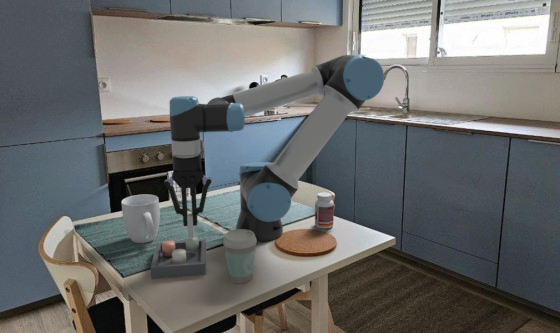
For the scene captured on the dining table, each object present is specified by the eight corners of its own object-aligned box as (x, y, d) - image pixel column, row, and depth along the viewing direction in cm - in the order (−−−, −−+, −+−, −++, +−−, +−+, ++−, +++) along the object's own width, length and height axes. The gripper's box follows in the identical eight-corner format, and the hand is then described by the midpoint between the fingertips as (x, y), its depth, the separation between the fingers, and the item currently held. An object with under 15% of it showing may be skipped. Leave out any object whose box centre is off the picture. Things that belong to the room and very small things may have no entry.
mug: (171, 245, 135) (168, 204, 132) (134, 254, 129) (130, 211, 126) (155, 229, 147) (152, 192, 144) (121, 237, 141) (117, 198, 138)
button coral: (176, 250, 128) (175, 240, 127) (175, 255, 125) (174, 245, 124) (163, 251, 128) (162, 241, 127) (161, 256, 124) (161, 246, 123)
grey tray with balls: (206, 248, 133) (205, 239, 132) (206, 274, 117) (205, 263, 117) (157, 252, 131) (157, 242, 130) (151, 278, 115) (150, 268, 115)
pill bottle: (337, 225, 149) (337, 194, 147) (325, 230, 145) (325, 198, 143) (322, 220, 154) (323, 190, 151) (311, 225, 150) (311, 194, 147)
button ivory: (186, 259, 123) (186, 248, 122) (186, 265, 119) (185, 254, 118) (173, 260, 122) (172, 249, 121) (172, 266, 119) (171, 255, 118)
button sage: (199, 246, 129) (198, 235, 128) (198, 251, 125) (198, 240, 125) (186, 246, 128) (185, 236, 127) (185, 252, 125) (185, 241, 124)
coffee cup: (244, 289, 110) (243, 244, 107) (217, 280, 114) (215, 237, 111) (264, 275, 117) (263, 232, 114) (237, 267, 121) (236, 225, 118)
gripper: (211, 150, 125) (214, 229, 130) (163, 152, 123) (168, 232, 128) (211, 156, 117) (214, 240, 123) (160, 158, 115) (166, 243, 121)
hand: (191, 236), depth 126 cm, fingers closed
